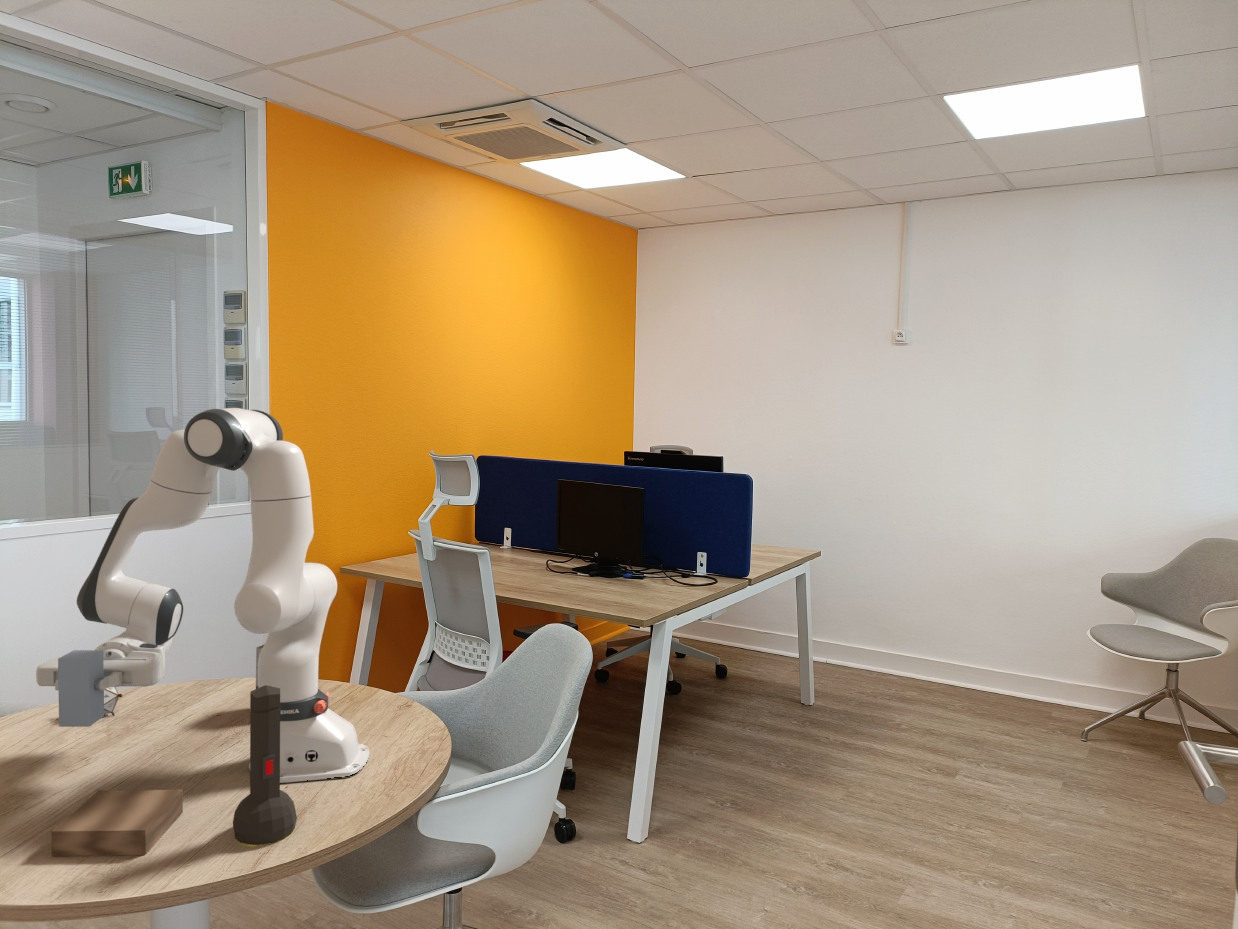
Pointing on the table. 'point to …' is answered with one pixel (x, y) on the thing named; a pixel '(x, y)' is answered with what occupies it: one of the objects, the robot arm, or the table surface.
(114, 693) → the game die
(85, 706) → the slate block
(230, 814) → the table surface
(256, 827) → the flashlight
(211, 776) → the table surface
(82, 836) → the block
